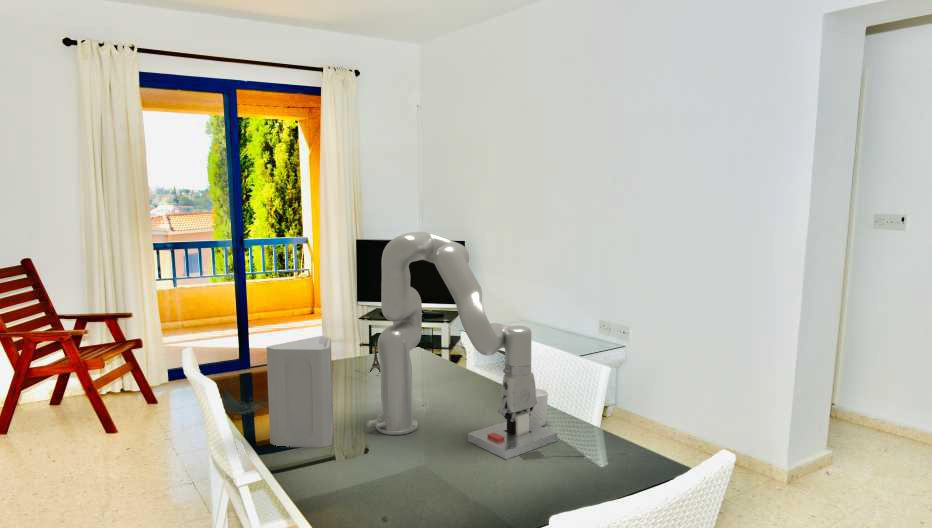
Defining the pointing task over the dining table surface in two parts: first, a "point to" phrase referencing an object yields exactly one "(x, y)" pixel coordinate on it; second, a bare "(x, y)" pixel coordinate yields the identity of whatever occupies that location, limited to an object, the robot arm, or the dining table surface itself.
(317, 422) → the paper bag
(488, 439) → the socket plate
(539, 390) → the white cup
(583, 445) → the dining table surface
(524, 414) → the plug
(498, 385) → the dining table surface
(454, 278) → the robot arm
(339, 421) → the dining table surface
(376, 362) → the eiffel tower figurine
